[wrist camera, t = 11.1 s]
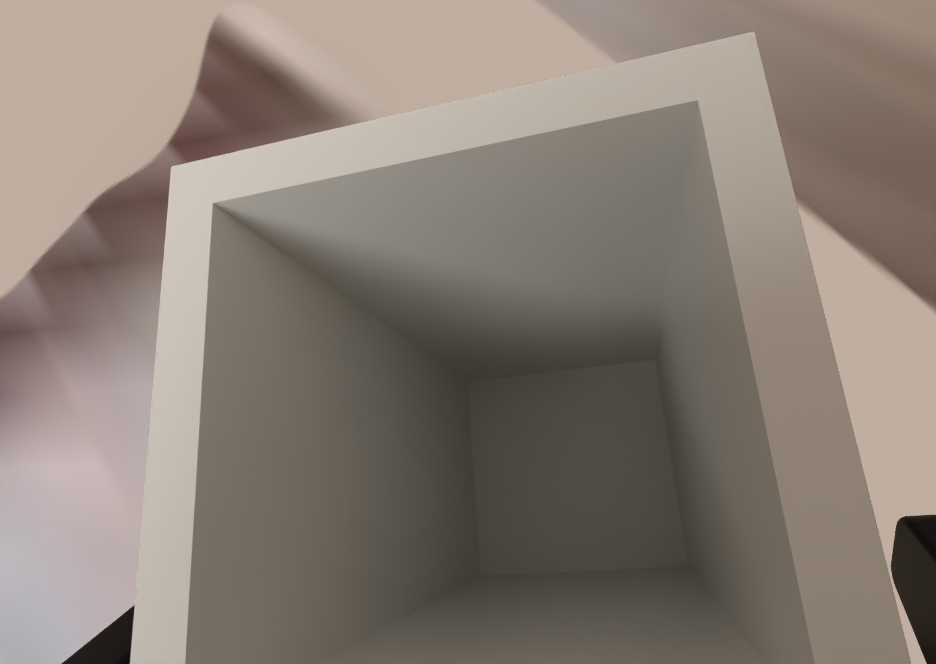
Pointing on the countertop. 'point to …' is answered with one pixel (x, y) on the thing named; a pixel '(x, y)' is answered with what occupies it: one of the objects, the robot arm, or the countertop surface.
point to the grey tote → (508, 392)
